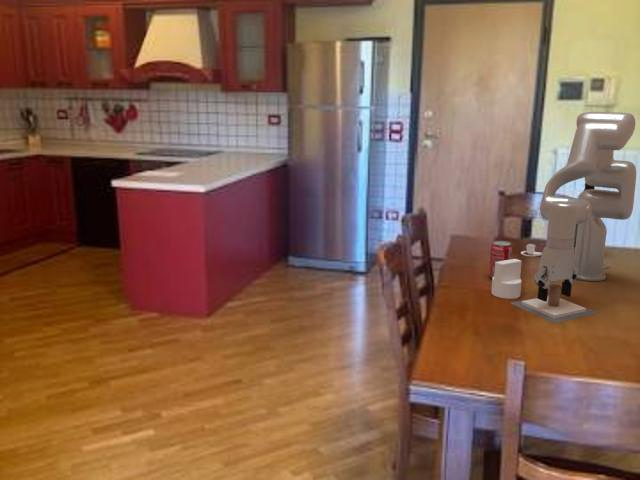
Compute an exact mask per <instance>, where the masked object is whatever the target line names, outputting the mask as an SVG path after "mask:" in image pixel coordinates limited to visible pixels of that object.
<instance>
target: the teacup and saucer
mask: <svg viewBox="0 0 640 480" xmlns="http://www.w3.org/2000/svg"><path fill="white" fill-rule="evenodd" d="M525 248H526V250H523V251H521V252H520V254H521V255H523V256H525V257H526V256H527V257H531V255H532V257H541V256H542V251H541V252H539V251H538V252H537V251H536V250H535V249H536V245H535V244H532V243H528V244H526V246H525ZM525 253H527V254H525Z"/></svg>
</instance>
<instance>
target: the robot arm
mask: <svg viewBox="0 0 640 480" xmlns="http://www.w3.org/2000/svg"><path fill="white" fill-rule="evenodd" d="M635 130H636V119H635V116H634V115H633V114H632V113H630V112H614V111H613V112H611V111H586V112H582V113H580V114H578V115H577V117H576V130H575V131H574V132H575V133H574V137H573V139H572V140H573V141H572V143H571V148H570V152H569V154H568V155H569V156H568V159H567V163H566V164H565V166H564V167H562V168H560V169H559V170H558V171H556V172H555V173H554V174H553V175H552V176H551V177H550V179H549V180H548V181H547V183H546V184H545V186H544V190H543V194H542V197H541V200H540V206H539V212H540V216H541V217H542V218H543V219H545V220H548V224H547V234H546V245H545V247H543V250H542V251H541V253H542V255H541V256H540V262H539V267H538V271H537V272H535V273H534V274H533V278H534V281H535V284H536V286H537V287H538V290H537V297H538V299H540V300H542V301H547V297H548V295H549V288H548V287H549V286H550V285H551V283H554V282H559V281H560V282H561V281H562V283H561V292H560V295H562V296H565V297H568V298H570V297H571V296H572V295H571V294H572V288H573V284H574V281H575V279H577V280H580V281H587V282H601V281H604V280H606V278H607V274H606V273H605V272H604V271H605V270H609V269H611V265H610V264H609V263H604V256H605V250H606V249H605V248H606V240H607V234H608V232H607V230H608V229H607V227H606V224H605V222H604V221H603V220H602V219H611V220H612V219H613V220H620V221H622V220H623V221H625V220H628V219H629V218H630V217H631V216H632V213H633V211H634V210H633V209H634V203H635V192H636V185H637V184H636V183H637V169H636V165H635V164H634V163H633V162H631V161H629V160H618V159H617V160H616V159H614V151H620V150H622V149H624V147H625V146H626V145H627V143H628V142H629V140H630V139H631V138H632V136H633V134H634V132H635ZM581 179H584V181H585V182H586V183H587V184H588V185H590V186H595V187H597V188H605V189H606V190H605V189H596V188H595V189H588V190H585V191H584V190H582V191H581V192H580V193H579V195H578V197H570V196H561V195H560V196H559V195H556V193H557V191H558V190H559V189H560V188H562V187H563V186H565V185H567V184H568V183H571V182H574V181H577V180H581ZM607 189H616V190H617V191H616V190H607ZM576 224H578V229H577V238H576V247H575V256H574V248H573V246H574V237H575V229H576Z"/></svg>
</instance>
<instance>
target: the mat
mask: <svg viewBox="0 0 640 480" xmlns="http://www.w3.org/2000/svg"><path fill="white" fill-rule="evenodd" d="M548 296H549V294H548ZM536 298H538V296H537V297H533V298H528V299H523V300H519V301H513V302H509V304H510V305H513V306H515V307H517V308H520V309H522V310H524V311H527V312H529V313H531V314H533V315H534V316H537V317H540V318H542V319H544V320H547V321H549V322H551V323H553V324H557V323H561V322H566V321H570V320H575V319H579V318H583V317H588V316H592V315H596V314H599V312H598V311H594V310H592V309H589V308H587V307H584V306H581V305H580V304H578V303H575V304H576V305H579V306H581V307H584V308H586V312H582V313H577V314H573V315H568V316H564V317H559V318H555V319H554V318H552V317H549V316H547V315H545V314H543V313H540V312H538V311H536V310H533V309H531V308H529V307H526V306H524V305H522V304H521V303H522V301H526V300H531V299H536ZM560 298H561V297H560ZM561 299H563V300H566V301H568V300H567V299H564V298H561ZM570 302H571V303H573V302H572V301H570Z"/></svg>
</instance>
